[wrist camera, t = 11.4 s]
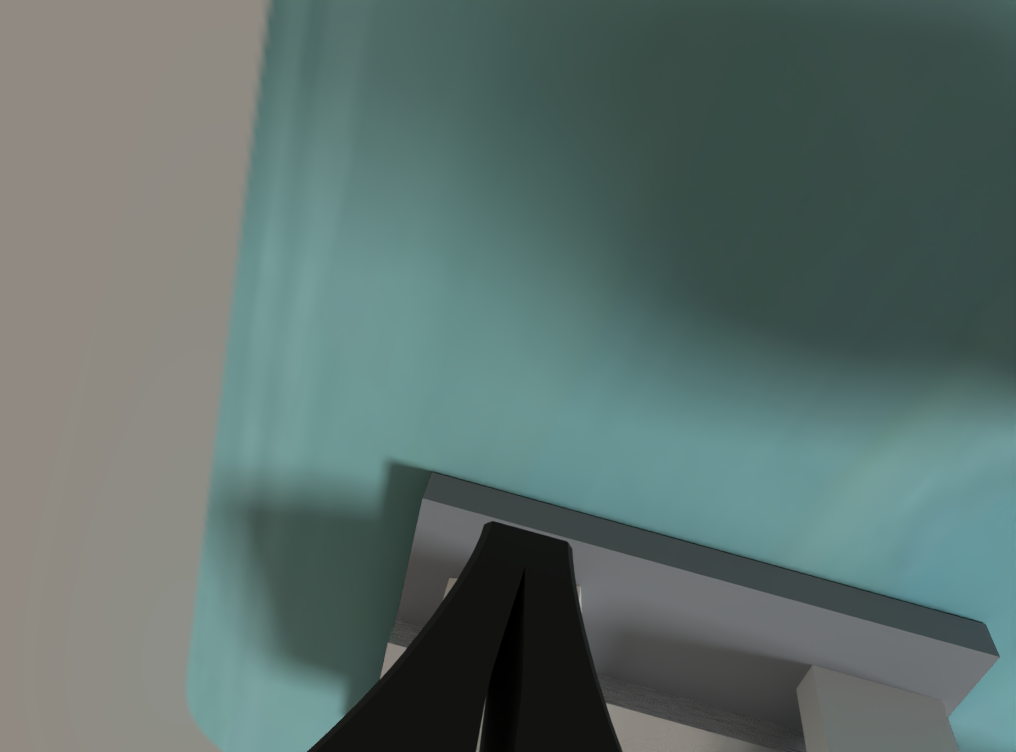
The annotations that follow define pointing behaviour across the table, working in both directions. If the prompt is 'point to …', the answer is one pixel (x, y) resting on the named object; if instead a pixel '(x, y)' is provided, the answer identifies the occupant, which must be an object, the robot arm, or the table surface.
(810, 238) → the table surface
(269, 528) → the table surface
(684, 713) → the rail board
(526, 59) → the table surface
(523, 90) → the table surface
